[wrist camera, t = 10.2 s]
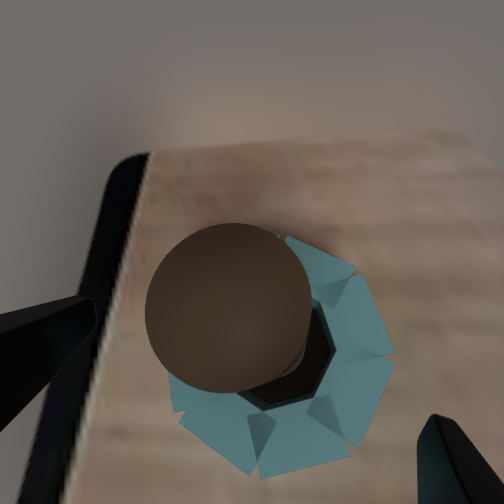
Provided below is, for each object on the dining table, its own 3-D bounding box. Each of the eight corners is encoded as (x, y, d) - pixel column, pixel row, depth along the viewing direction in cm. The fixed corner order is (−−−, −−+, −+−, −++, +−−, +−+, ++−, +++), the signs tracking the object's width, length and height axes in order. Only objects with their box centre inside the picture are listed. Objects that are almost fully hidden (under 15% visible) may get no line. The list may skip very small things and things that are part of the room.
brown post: (256, 383, 17) (156, 414, 5) (242, 325, 18) (137, 248, 6) (312, 367, 17) (337, 365, 5) (295, 311, 18) (283, 204, 6)
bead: (206, 475, 16) (185, 498, 13) (175, 285, 20) (154, 271, 17) (406, 423, 15) (429, 436, 12) (333, 239, 19) (338, 216, 16)
